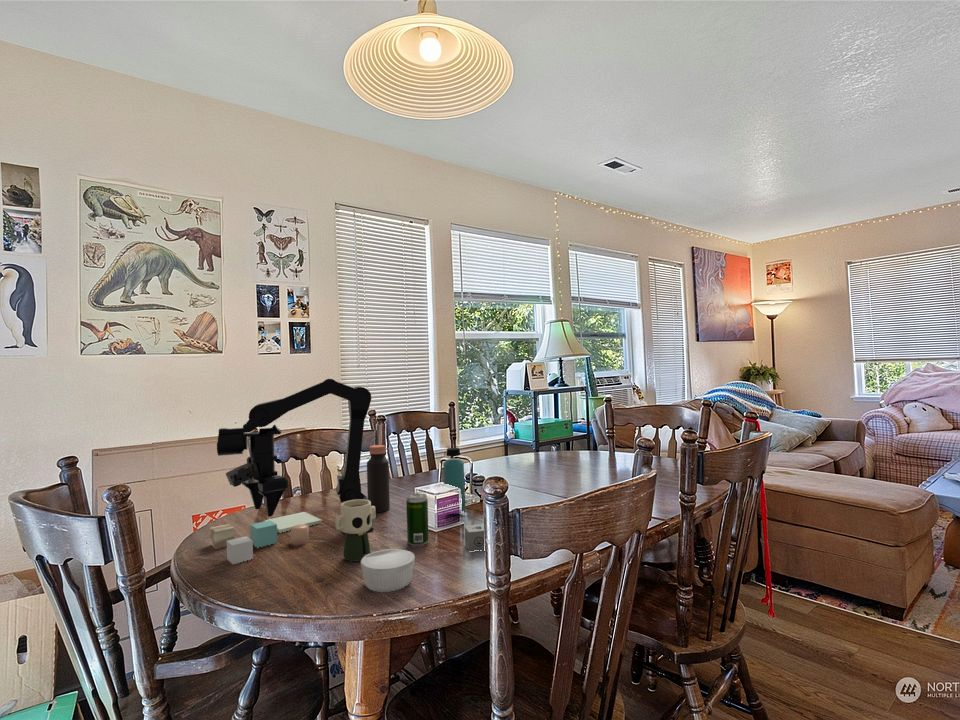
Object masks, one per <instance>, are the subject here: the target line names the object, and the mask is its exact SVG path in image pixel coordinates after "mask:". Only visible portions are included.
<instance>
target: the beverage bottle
mask: <svg viewBox="0 0 960 720" xmlns="http://www.w3.org/2000/svg"><path fill="white" fill-rule="evenodd" d="M445 453H446V456H447V457H459V456H461V450H460V448H459V447H449V448H447V449H446V452H445ZM442 464H443V485H444V484H449V485H452V486H455V487H458V488H460V489H461V494H462V512H465V510H466V504H467V503H466V490H465V487H466V486H465V478H466V475H465V462H464V461H463V460H462V459H461V458H447V459H446V460H445V461H444V462H443V463H442Z"/></svg>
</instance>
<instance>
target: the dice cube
mask: <svg viewBox="0 0 960 720" xmlns="http://www.w3.org/2000/svg"><path fill="white" fill-rule="evenodd" d="M483 524H484V523H481V524H479V523H478V524H469V525H464V546H465V545H466V547H467V548H466V547H465V548H466V550H467V549H468V550H469V551H474V550H479V551H480V550H482V551H483V552H485V551H484V525H483ZM468 550H467V551H468Z"/></svg>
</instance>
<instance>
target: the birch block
mask: <svg viewBox="0 0 960 720" xmlns="http://www.w3.org/2000/svg"><path fill="white" fill-rule="evenodd" d="M209 532H210V533H209V534H210V546H211V545H212V546H213V547H212V546H211V547H212V548H213V549H214V550H218V549H223V548H227V547H226V546H227V541H228V540H232V539H235V527H234V526H233V525H231V524H230V523H227V524H223V525H222V524H221V525H218V526H213V527H210V531H209ZM222 547H223V548H222Z"/></svg>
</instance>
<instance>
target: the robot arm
mask: <svg viewBox="0 0 960 720" xmlns="http://www.w3.org/2000/svg"><path fill="white" fill-rule="evenodd" d="M327 395H334V396H336V397H339V398H341V399H343V400H347V405H348V407H347V408H348V414H349V426H348V432H347V433H348V434H347V435H348V436H347V443H346V453H345V461H344V462H345V463H344V469H343V473H342V475H339V474H338V475H337V476H336V479H337V480H336V481H337V484H336V487H335V492H336V495H337V496H338V498H339V501H340V502H341V503H343V502H346V501H349V500H357V499H364V500H368V497H367V496H366V495H365V494H364V493H362V483H361V477H360V476H361V475H360V465H361V456H362V447H363V445H362V444H363V437H364V427H365V420H366V417H367V414H368V412H369V409H370V405H371V402H372V394H371V392H370V390H369V389H367V388H366V387H362V386H354V387H353V386H350V385H346V384H343V383H341V382H339V381H336V380H335V379H333V378H326V379H324V380H323V381H321V382H318V383H316V384H314V385H311V386H310V387H307V388H305V389H302V390H300V391H297V392H295V393H293V394H291V395H288V396H285V397H283V398H279V399H275V400H274V399H273V400H270V401H265V402H262V403H257V404H256V405H255V406H253V407H252V408H251V409H250V411H249V413H248V420H247V421H246V423H244V424H243V425H242V427H235V428H227V427H224V428H222V427H221V428H219V429H218V436H217V442H216V451H217V452H216V453H217V456H218V457H221V456H232V455H243V454H244V452H245V451H246V450H248V447H250V449H249V452H250V453H249V454H250V456H248V457H247V458H246V463H244V464H242V465H238V466H237V467H235V468H233V469H231V470H229V471H227V472H225V476H226V478H227V481H228V483H229V485H230V486H233V487H234V488H236V487H239V486H241V485H242V486H244V487H245V488H247V489H248V491H249V493H250V497H251V499H252V503H253V506H254V509H255V510H260V509H261V507H262V503H263V501H264V503H265V509H266V510H265V511H266V514H267V517H270V518H271V517H273V516H274V513H275V512H276V509H277V507H278V505H279V503H280V500H281V498H282V496H283V495H284V492H286V490H287V489H288V488H289V480H288V479H287V478H286V477H284V476H282V475H280V474H278V471H277V470H276V467H275V463H276V462H275V461H278V455H276V454H275V435H281V434H282V430H281V429H280V428H278V427H277V425H276V424H273V425H272V427H267V426H268V425H270V424H271V423H273V422H275V421H277V420H278V419H280V418H281V417H282V416H284V415H285V414H287V413H289V412H290V411H292V410H295V409H298V408H299V407H302V406H304V405H306V404H309V403H312V402H313V401H316V400H318V399H320V398H323V397H325V396H327ZM257 428H259V429H258V432H257V431H255V432H252V431H254V430H255V429H257ZM248 438H249V439H248ZM248 442H249V443H248ZM374 529H375V528H374V527H372V526H371V528H370V529H369V530H368V531H366V532H367V533H369V532H373V531H374Z"/></svg>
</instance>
